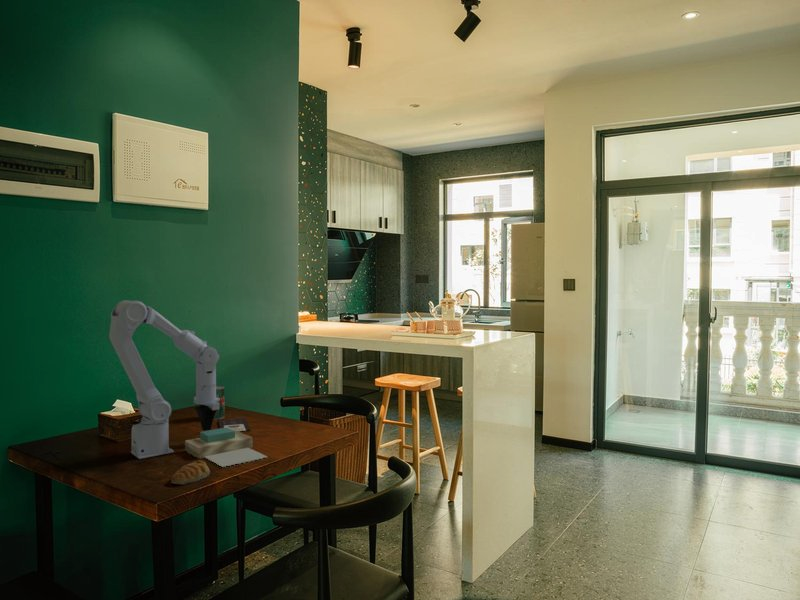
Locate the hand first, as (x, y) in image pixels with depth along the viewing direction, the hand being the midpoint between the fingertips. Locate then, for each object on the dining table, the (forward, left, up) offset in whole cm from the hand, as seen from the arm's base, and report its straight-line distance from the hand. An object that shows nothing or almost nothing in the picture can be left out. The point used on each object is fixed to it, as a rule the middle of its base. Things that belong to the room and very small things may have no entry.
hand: (206, 430), depth 170 cm
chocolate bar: (+15, +14, -5) cm, 21 cm away
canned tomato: (+15, +31, -4) cm, 35 cm away
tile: (0, -8, 0) cm, 8 cm away
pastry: (-16, -29, -4) cm, 33 cm away
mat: (0, -20, -4) cm, 21 cm away
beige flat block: (0, -9, -4) cm, 10 cm away
